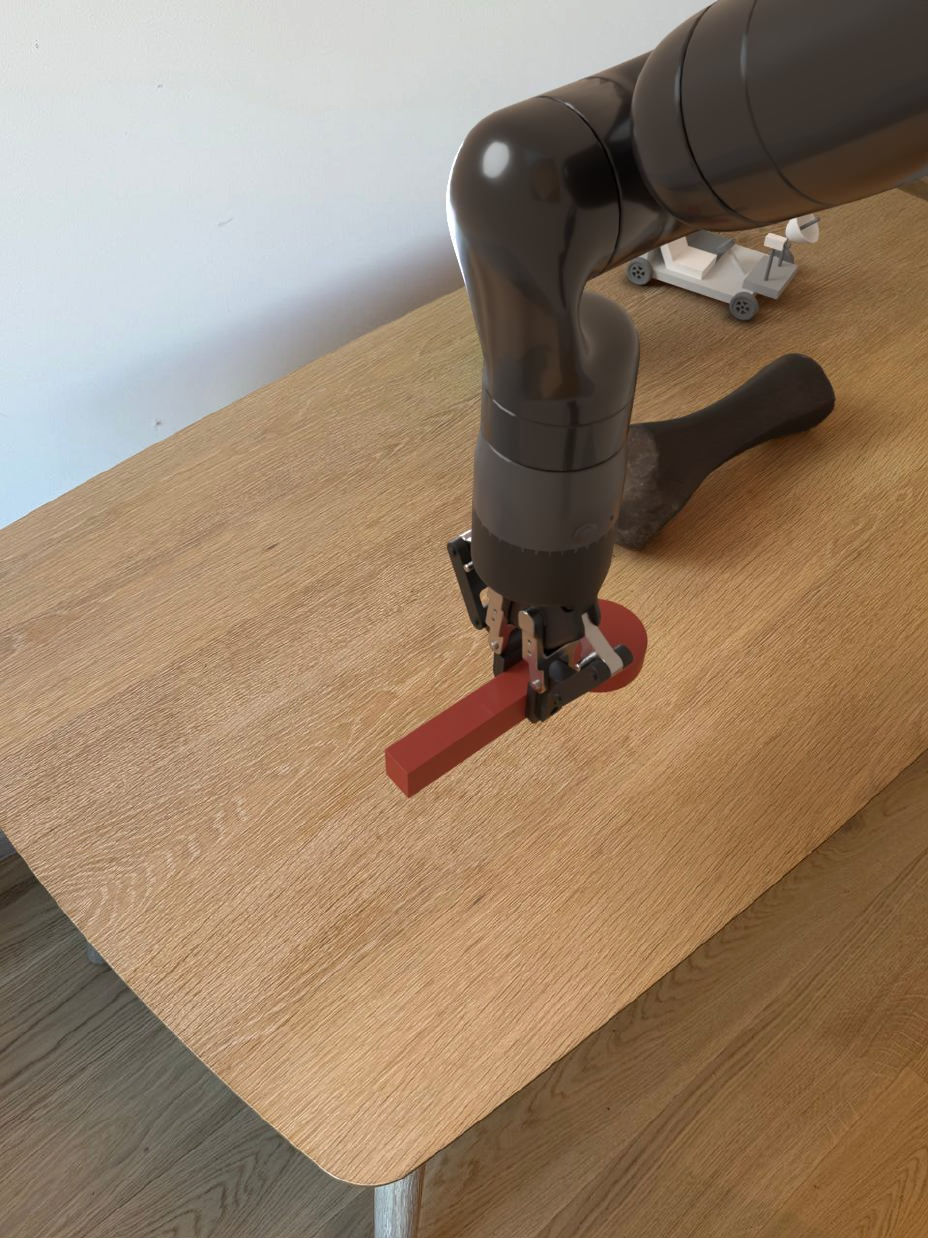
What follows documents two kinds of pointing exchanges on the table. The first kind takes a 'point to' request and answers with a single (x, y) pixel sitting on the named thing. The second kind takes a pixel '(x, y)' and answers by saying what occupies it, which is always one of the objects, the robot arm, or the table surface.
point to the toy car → (726, 265)
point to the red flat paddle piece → (497, 710)
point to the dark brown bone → (714, 441)
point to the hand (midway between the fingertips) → (525, 698)
